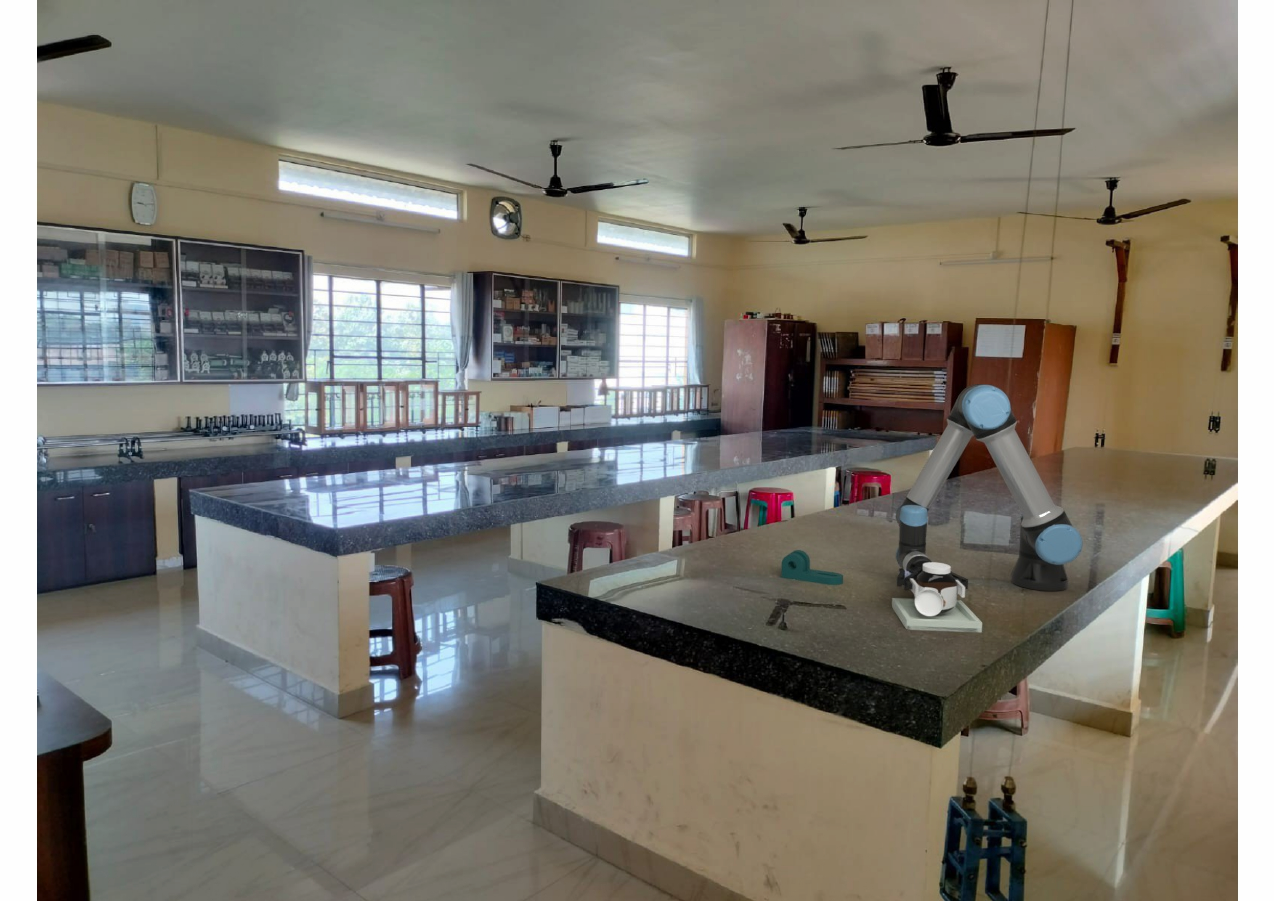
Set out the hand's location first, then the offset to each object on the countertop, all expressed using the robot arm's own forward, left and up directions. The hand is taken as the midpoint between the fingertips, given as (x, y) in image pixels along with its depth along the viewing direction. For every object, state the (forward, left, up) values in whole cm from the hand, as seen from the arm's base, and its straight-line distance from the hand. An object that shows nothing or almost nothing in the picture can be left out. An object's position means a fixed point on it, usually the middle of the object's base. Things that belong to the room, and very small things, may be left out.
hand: (940, 591), depth 201 cm
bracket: (+27, -38, -9) cm, 48 cm away
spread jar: (0, -4, -7) cm, 8 cm away
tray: (0, -4, -9) cm, 10 cm away
